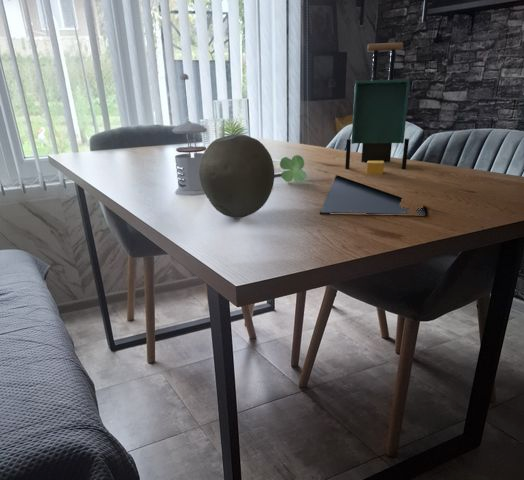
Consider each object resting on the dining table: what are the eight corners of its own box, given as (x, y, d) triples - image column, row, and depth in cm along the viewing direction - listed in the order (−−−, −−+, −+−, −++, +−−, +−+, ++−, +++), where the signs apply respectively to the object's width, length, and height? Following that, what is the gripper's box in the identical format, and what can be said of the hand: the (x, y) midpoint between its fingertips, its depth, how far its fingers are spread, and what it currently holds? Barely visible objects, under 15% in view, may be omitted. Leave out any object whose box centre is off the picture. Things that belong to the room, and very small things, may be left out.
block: (366, 179, 122) (366, 176, 125) (382, 180, 121) (382, 177, 125) (367, 163, 120) (367, 160, 123) (383, 163, 119) (383, 160, 123)
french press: (173, 196, 114) (159, 74, 102) (176, 186, 124) (163, 74, 112) (215, 193, 115) (206, 72, 102) (214, 184, 125) (206, 73, 112)
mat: (336, 176, 129) (336, 175, 129) (414, 177, 125) (414, 175, 125) (319, 214, 95) (319, 212, 95) (425, 216, 91) (425, 214, 91)
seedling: (294, 198, 130) (294, 189, 124) (274, 177, 131) (272, 168, 124) (313, 179, 130) (314, 169, 123) (292, 158, 131) (292, 147, 124)
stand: (348, 167, 141) (349, 133, 137) (403, 167, 138) (406, 133, 134) (344, 175, 130) (346, 139, 125) (404, 176, 127) (409, 139, 122)
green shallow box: (358, 46, 118) (357, 43, 114) (412, 43, 115) (413, 40, 111) (352, 143, 127) (351, 143, 123) (402, 143, 124) (403, 143, 120)
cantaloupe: (198, 213, 99) (191, 133, 91) (265, 207, 102) (263, 129, 94) (209, 231, 87) (201, 141, 79) (284, 224, 90) (283, 136, 82)
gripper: (465, -103, 99) (448, 22, 109) (341, -91, 103) (337, 28, 114) (471, -115, 92) (453, 19, 103) (339, -102, 97) (335, 25, 107)
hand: (392, 24), depth 108 cm, fingers open, 13 cm apart
